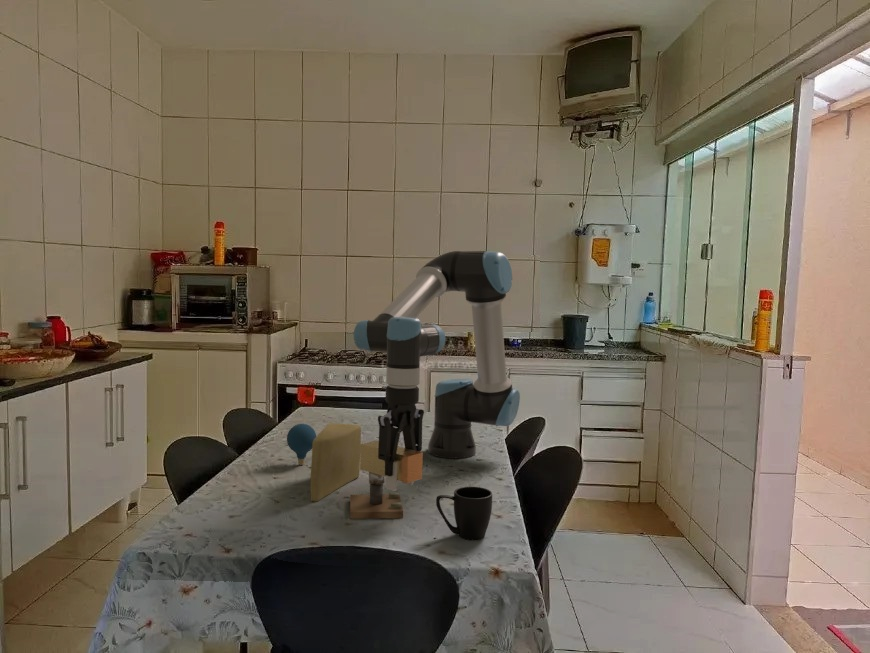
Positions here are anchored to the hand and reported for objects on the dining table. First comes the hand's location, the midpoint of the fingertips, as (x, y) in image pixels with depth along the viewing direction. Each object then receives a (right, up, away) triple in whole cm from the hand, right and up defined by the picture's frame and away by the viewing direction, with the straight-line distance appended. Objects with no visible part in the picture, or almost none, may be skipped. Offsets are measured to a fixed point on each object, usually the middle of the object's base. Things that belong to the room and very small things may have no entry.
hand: (399, 486), depth 150 cm
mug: (+14, -9, -9) cm, 19 cm away
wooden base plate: (-6, -7, +5) cm, 10 cm away
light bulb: (-31, -4, +39) cm, 50 cm away
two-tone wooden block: (-2, -1, +2) cm, 3 cm away
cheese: (-19, -6, +20) cm, 28 cm away
